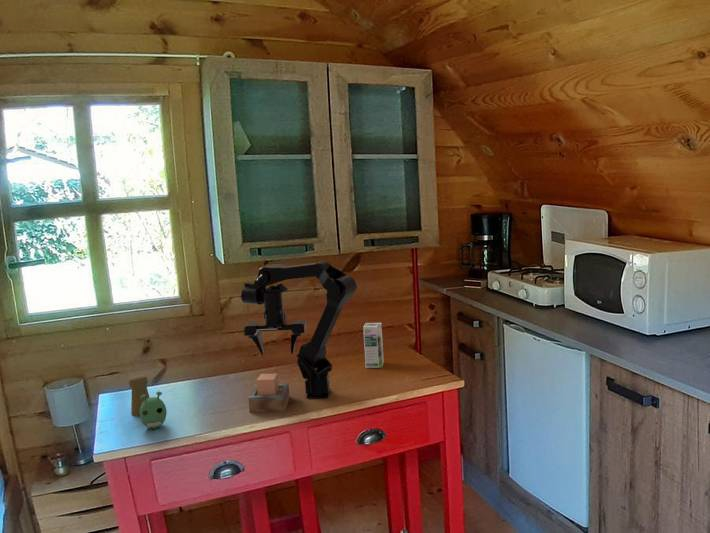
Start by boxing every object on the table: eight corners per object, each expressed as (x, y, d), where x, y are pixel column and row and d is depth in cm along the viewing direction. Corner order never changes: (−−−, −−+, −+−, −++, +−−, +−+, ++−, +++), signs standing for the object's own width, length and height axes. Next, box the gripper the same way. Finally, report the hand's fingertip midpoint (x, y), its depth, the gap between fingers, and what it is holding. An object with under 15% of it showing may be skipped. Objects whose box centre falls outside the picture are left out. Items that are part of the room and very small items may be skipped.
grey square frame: (289, 398, 180) (288, 383, 179) (284, 412, 170) (283, 396, 169) (257, 400, 180) (255, 384, 180) (249, 413, 171) (248, 397, 170)
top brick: (278, 389, 177) (277, 373, 176) (275, 396, 172) (273, 379, 171) (262, 390, 177) (260, 373, 176) (258, 396, 172) (256, 380, 172)
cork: (140, 417, 172) (135, 381, 170) (126, 413, 175) (122, 378, 173) (157, 409, 177) (152, 374, 175) (143, 406, 180) (139, 371, 178)
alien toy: (140, 435, 160) (136, 400, 158) (142, 424, 167) (137, 390, 165) (168, 431, 162) (164, 396, 160) (168, 420, 169) (164, 386, 167)
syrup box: (365, 368, 201) (362, 326, 199) (367, 362, 207) (365, 322, 204) (382, 368, 200) (379, 326, 198) (384, 362, 206) (381, 321, 203)
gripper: (306, 298, 191) (310, 345, 193) (249, 301, 192) (253, 347, 194) (302, 306, 180) (306, 356, 182) (241, 309, 181) (245, 358, 183)
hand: (277, 354), depth 186 cm, fingers open, 9 cm apart
